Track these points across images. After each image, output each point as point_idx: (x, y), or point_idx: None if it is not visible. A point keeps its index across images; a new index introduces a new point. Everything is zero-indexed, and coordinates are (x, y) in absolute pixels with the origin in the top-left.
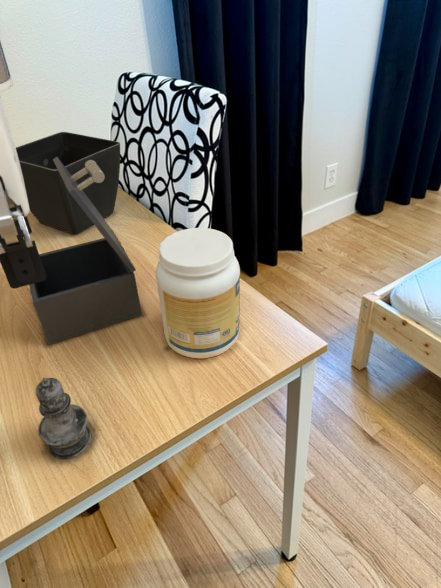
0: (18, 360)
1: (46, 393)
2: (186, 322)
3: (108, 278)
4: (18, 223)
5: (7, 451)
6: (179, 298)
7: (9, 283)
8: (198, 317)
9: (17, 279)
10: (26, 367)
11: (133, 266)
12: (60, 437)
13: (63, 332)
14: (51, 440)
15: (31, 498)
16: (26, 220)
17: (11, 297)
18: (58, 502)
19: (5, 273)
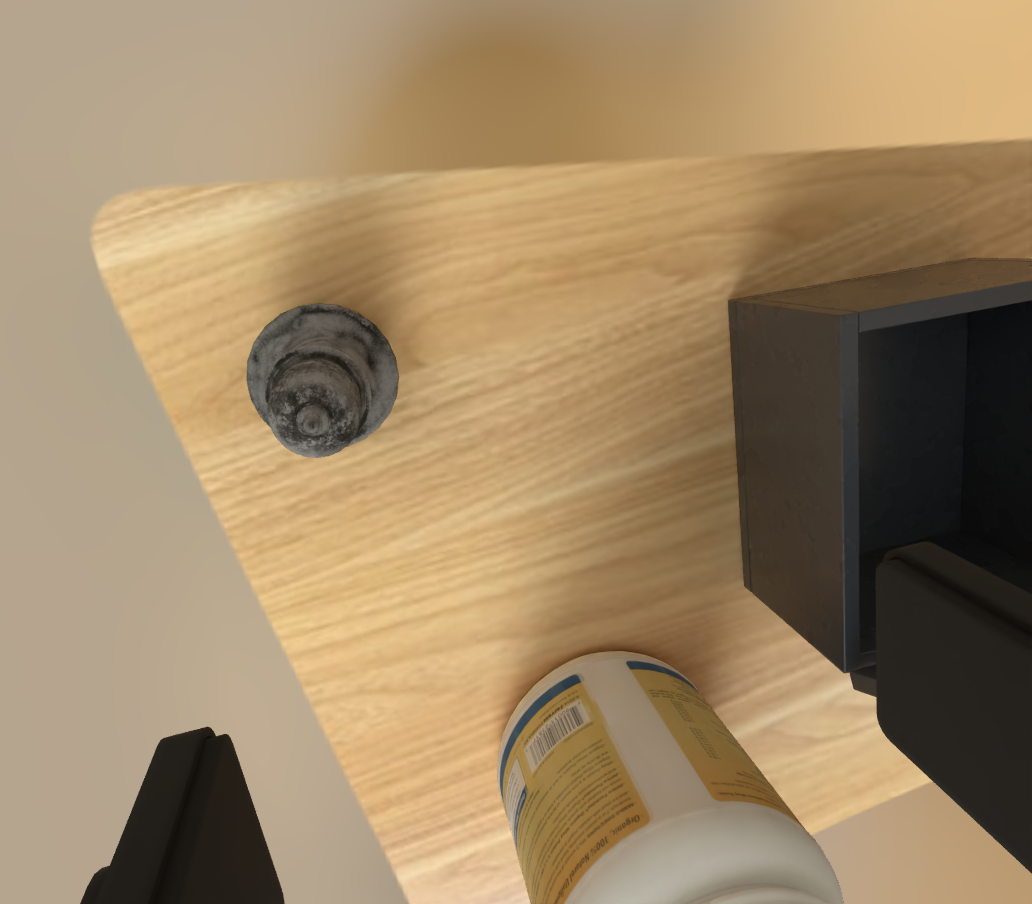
0: (697, 200)
1: (272, 417)
2: (546, 804)
3: (955, 501)
4: (956, 742)
5: (338, 183)
6: (584, 870)
7: (153, 765)
8: (536, 856)
9: (93, 881)
10: (656, 228)
11: (866, 693)
12: (265, 375)
13: (747, 359)
14: (264, 346)
15: (160, 259)
16: (962, 802)
17: (1020, 161)
18: (132, 333)
19: (121, 841)
